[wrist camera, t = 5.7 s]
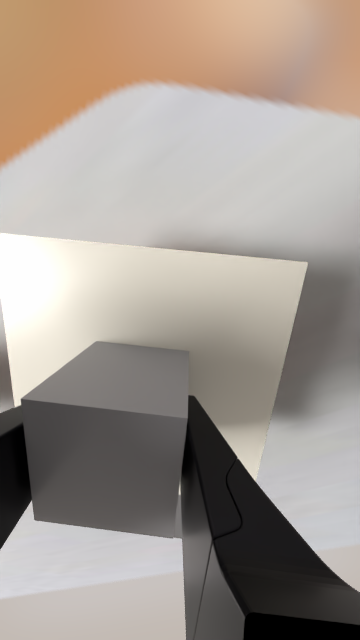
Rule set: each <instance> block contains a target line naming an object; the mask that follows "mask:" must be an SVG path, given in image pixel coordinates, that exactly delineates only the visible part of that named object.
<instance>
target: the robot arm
mask: <svg viewBox="0 0 360 640" xmlns="http://www.w3.org/2000/svg"><path fill="white" fill-rule="evenodd" d="M180 493H181V518H182V544H183V569H184V594H185V620H186V640H360V592H358V591H357V590H355V589H354V588H352V587H351V586H350V585H348V584H347V583H346V582H344V581H343V580H342V579H341V578H340V577H339V576H337V575H336V574H335V573H334V572H333V571H332V570H331V569H330V568H329V567H328V566H327V565H326V564H325V563H324V562H323V561H322V560H321V559H320V558H319V556H318V555H317V554H316V553H315V552H314V551H313V550H312V549H311V547H310V546H309V545H308V544H307V543H306V541H305V540H304V539H303V538H302V537H301V536H300V534H299V533H298V532H297V531H296V530H295V529H294V527H293V526H292V525H291V524H290V523H289V521H288V520H287V519H286V518H285V517H284V516H283V514H282V513H281V512H280V511H279V510H278V509H277V507H276V506H275V505H274V504H273V503H272V501H271V500H270V499H269V498H268V497H267V495H266V494H265V493H264V492H263V490H262V489H261V488H260V487H259V485H258V484H257V483H256V482H255V480H254V479H253V478H252V476H251V475H250V474H249V472H248V471H247V469H246V468H245V467H244V465H243V464H242V462H241V461H240V460H239V459H238V457H237V455H236V454H235V453H234V451H233V450H232V448H231V447H230V446H229V444H228V443H227V441H226V440H225V438H224V437H223V436H222V434H221V433H220V431H219V430H218V428H217V427H216V426H215V424H214V423H213V421H212V420H211V418H210V417H209V416H208V414H207V413H206V411H205V410H204V409H203V407H202V406H201V404H200V403H199V401H198V400H197V399H196V397H195V396H193V395H188V420H187V429H186V437H185V445H184V453H183V462H182V470H181V478H180ZM31 500H32V495H31V486H30V477H29V469H28V460H27V451H26V442H25V434H24V425H23V416H22V408H21V405H19V406H17V407H14V408H12V409H10V410H7V411H5V412H2V413H0V549H1V548H2V546H3V545H4V543H5V541H6V540H7V538H8V537H9V535H10V534H11V532H12V530H13V529H14V527H15V526H16V524H17V522H18V521H19V519H20V518H21V516H22V515H23V513H24V511H25V510H26V508H27V507H28V505H29V504H30V502H31Z"/></svg>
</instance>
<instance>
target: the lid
mask: <svg viewBox="0 0 360 640" xmlns="http://www.w3.org/2000/svg"><path fill="white" fill-rule="evenodd" d="M307 265H308V262H301V261H290V260H279V259H269V258H258V257H247V256H237V255H226V254H216V253H205V252H194V251H184V250H173V249H162V248H152V247H141V246H131V245H120V244H109V243H99V242H88V241H78V240H67V239H56V238H46V237H35V236H24V235H14V234H3V233H0V294H1V302H2V310H3V318H4V326H5V334H6V342H7V350H8V358H9V366H10V374H11V382H12V390H13V398H14V406H15V407H17V406H19V405H21V408H22V416H23V425H24V434H25V442H26V451H27V460H28V469H29V477H30V486H31V495H32V503H33V512H34V520H37V521H44V522H52V523H59V524H67V525H74V526H82V527H90V528H97V529H105V530H112V531H120V532H127V533H135V534H143V535H150V536H158V537H165V538H173V536H174V528H175V519H176V511H177V503H178V495H181V493H180V478H181V470H182V462H183V453H184V445H185V437H186V429H187V420H188V395H193V396H195V397H196V399H197V400H198V401H199V403H200V404H201V406H202V407H203V409H204V410H205V411H206V413H207V414H208V416H209V417H210V418H211V420H212V421H213V423H214V424H215V426H216V427H217V428H218V430H219V431H220V433H221V434H222V436H223V437H224V438H225V440H226V441H227V443H228V444H229V446H230V447H231V448H232V450H233V451H234V453H235V454H236V455H237V457H238V459H239V460H240V461H241V462H242V464H243V465H244V467H245V468H246V469H247V471H248V472H249V474H250V475H251V476H252V478H253V479H254V480H255V482H256V478H257V474H258V470H259V465H260V461H261V457H262V453H263V449H264V445H265V440H266V436H267V432H268V428H269V424H270V420H271V415H272V411H273V407H274V403H275V399H276V395H277V390H278V386H279V382H280V378H281V374H282V370H283V365H284V361H285V357H286V353H287V349H288V345H289V340H290V336H291V332H292V328H293V324H294V320H295V315H296V311H297V307H298V303H299V299H300V295H301V290H302V286H303V282H304V278H305V274H306V270H307Z"/></svg>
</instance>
